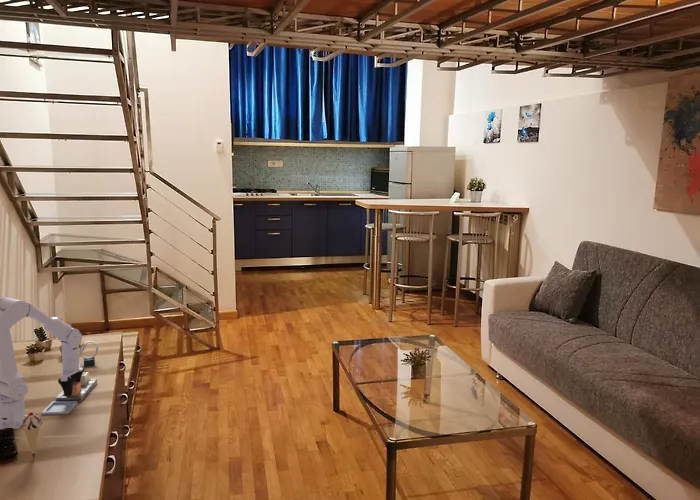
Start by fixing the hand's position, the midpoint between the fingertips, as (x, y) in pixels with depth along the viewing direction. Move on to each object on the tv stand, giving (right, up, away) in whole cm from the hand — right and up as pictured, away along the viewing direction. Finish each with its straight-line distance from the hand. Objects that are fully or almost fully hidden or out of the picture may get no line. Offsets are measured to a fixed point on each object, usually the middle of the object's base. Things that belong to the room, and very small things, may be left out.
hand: (72, 391), depth 202 cm
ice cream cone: (+9, -10, -40) cm, 42 cm away
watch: (-11, +3, +35) cm, 37 cm away
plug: (0, -3, +1) cm, 3 cm away
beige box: (-1, -1, +10) cm, 10 cm away
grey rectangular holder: (-1, -2, +5) cm, 6 cm away
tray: (0, -4, -8) cm, 10 cm away
